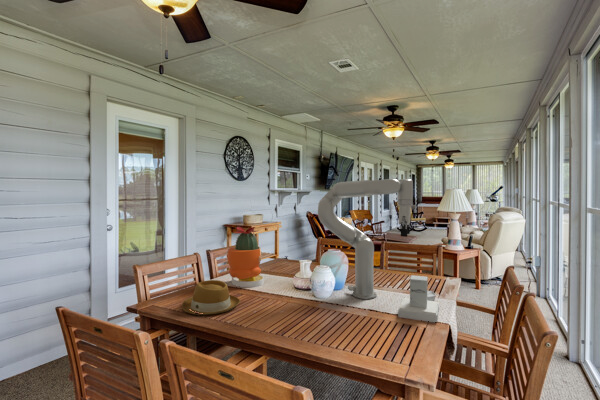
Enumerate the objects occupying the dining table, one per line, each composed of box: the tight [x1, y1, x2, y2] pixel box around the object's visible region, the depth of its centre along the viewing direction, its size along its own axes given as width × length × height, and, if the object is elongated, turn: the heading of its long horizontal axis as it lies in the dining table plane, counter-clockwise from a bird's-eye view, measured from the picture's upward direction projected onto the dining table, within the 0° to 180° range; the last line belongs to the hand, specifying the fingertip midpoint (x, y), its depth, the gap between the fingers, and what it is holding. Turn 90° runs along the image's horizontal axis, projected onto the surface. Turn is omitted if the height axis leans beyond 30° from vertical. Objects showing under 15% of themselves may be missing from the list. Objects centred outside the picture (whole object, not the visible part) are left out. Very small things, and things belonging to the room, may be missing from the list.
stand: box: [397, 297, 440, 323], centre depth 152 cm, size 16×16×4 cm
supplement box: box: [409, 274, 429, 308], centre depth 152 cm, size 7×7×13 cm
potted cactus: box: [226, 226, 265, 288], centre depth 202 cm, size 22×22×35 cm
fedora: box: [181, 279, 241, 316], centre depth 166 cm, size 27×29×12 cm
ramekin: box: [427, 289, 437, 301], centre depth 165 cm, size 11×11×5 cm
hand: (405, 235), depth 176 cm, fingers open, 9 cm apart
